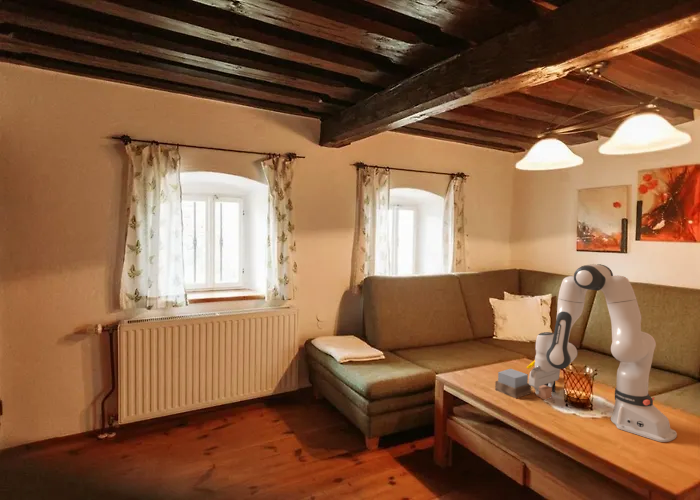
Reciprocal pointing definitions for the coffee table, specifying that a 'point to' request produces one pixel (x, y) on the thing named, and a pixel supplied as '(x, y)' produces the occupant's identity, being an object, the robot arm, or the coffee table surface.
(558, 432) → the coffee table surface
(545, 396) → the terracotta cube
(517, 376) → the tower top block
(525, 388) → the tower base slab
